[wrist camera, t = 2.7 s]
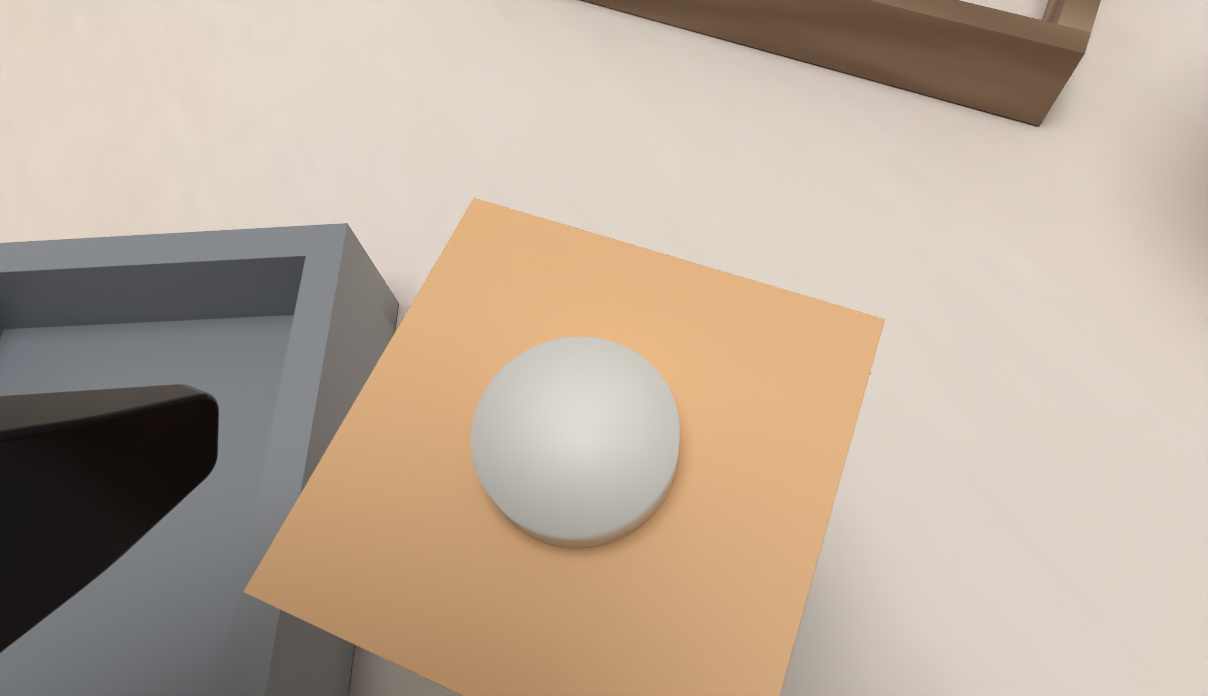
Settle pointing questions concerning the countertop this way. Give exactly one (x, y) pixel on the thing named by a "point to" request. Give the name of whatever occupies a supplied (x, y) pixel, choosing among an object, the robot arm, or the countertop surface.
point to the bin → (245, 444)
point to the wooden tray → (907, 43)
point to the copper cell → (580, 472)
